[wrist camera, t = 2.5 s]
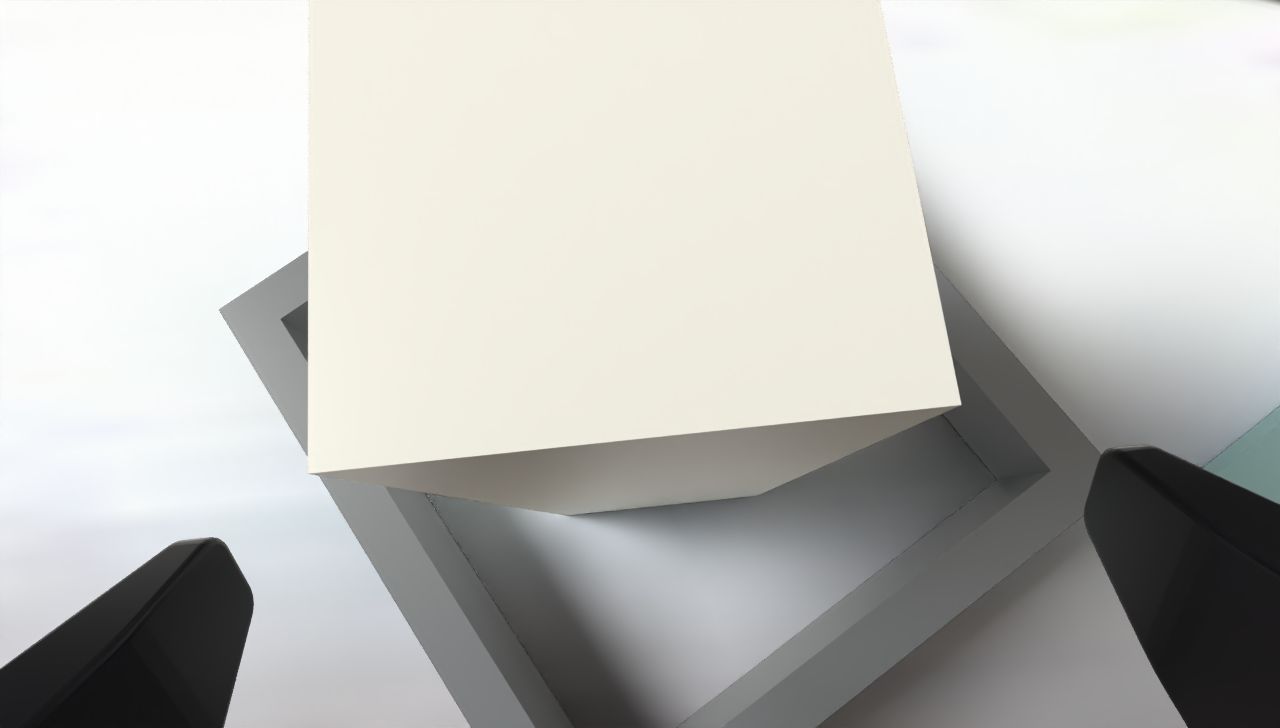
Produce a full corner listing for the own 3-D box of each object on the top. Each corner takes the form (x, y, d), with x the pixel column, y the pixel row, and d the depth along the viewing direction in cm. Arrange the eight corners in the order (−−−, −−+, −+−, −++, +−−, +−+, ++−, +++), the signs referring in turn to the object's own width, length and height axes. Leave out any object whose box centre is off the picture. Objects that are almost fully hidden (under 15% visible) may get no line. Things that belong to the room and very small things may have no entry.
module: (757, 495, 17) (961, 405, 5) (565, 515, 17) (307, 474, 5) (732, 311, 18) (852, -137, 6) (551, 331, 18) (308, -71, 6)
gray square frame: (1060, 489, 17) (1125, 482, 14) (596, 853, 16) (582, 912, 13) (694, 60, 20) (697, -6, 17) (278, 338, 19) (218, 309, 16)
